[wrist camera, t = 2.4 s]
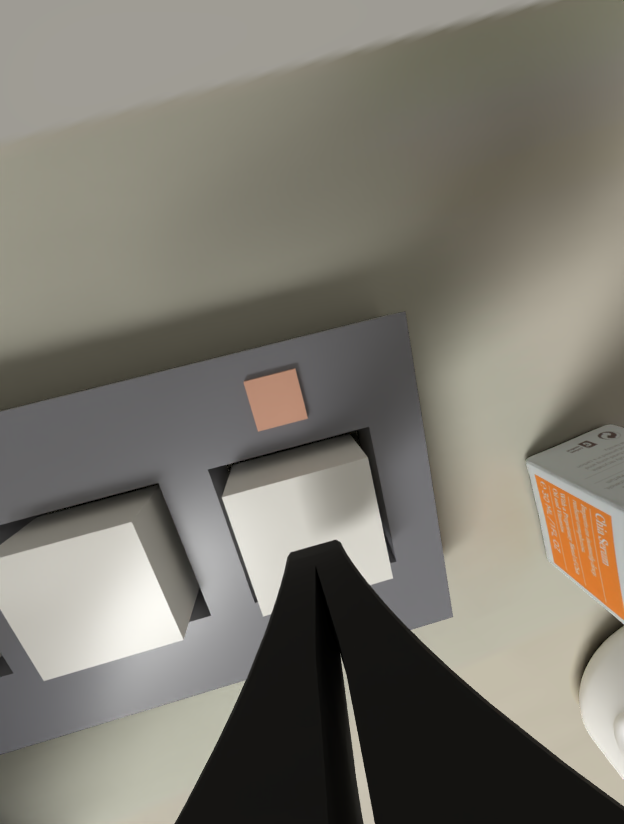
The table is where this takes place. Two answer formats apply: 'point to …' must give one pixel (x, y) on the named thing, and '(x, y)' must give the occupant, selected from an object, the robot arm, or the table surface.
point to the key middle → (97, 583)
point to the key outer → (305, 511)
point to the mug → (606, 699)
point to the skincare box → (585, 512)
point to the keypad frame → (215, 500)
